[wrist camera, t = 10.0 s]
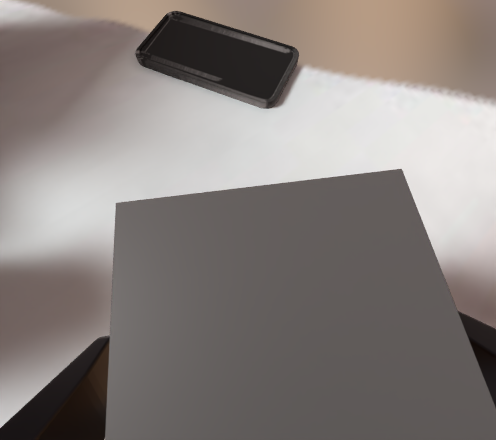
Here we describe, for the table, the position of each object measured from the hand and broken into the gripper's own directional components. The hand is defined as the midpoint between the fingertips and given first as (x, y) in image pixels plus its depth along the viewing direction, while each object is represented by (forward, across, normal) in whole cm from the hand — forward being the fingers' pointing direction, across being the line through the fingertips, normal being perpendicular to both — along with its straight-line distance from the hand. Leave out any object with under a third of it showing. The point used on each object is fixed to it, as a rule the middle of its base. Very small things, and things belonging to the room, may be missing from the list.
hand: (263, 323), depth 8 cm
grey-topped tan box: (+6, 0, +6) cm, 8 cm away
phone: (+25, 0, -10) cm, 27 cm away
